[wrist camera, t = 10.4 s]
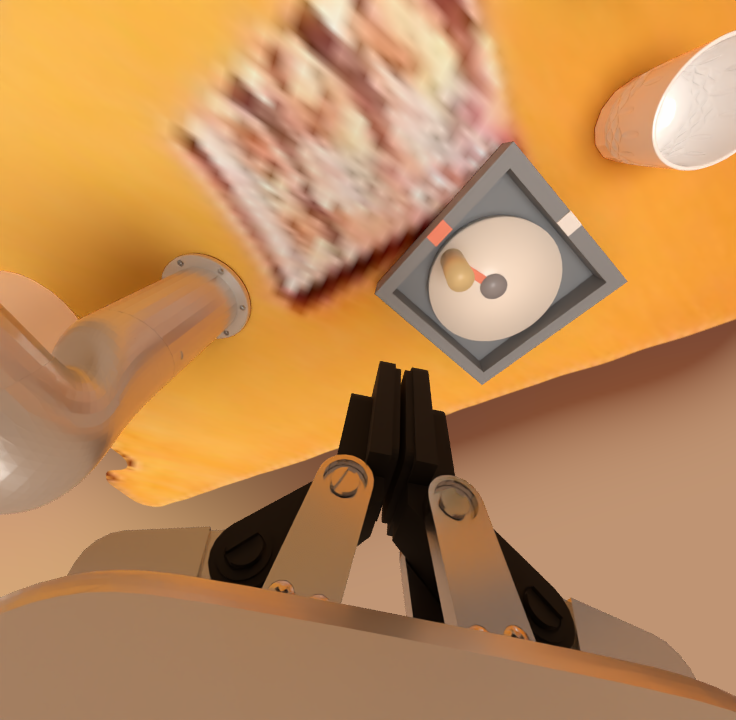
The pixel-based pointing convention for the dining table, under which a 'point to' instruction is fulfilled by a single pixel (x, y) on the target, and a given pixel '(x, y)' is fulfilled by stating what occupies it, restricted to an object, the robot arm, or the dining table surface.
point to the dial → (494, 277)
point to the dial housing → (487, 198)
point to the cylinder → (35, 308)
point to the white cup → (675, 112)
